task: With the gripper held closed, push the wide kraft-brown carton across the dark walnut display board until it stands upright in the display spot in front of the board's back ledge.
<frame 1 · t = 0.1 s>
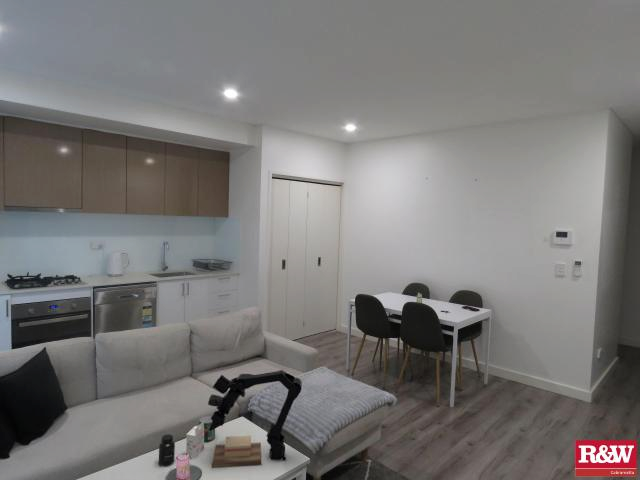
hand: (212, 425, 193), 15 cm above the table, tool tilted 30°, fingers open, 9 cm apart
kraft carton: (237, 451, 196), point 1 cm above the table, touching display board
display board: (237, 458, 192), on the table
supplement bottle: (166, 462, 187), on the table
ink cartridge box: (195, 454, 194), on the table
canned tomato: (206, 440, 207), on the table
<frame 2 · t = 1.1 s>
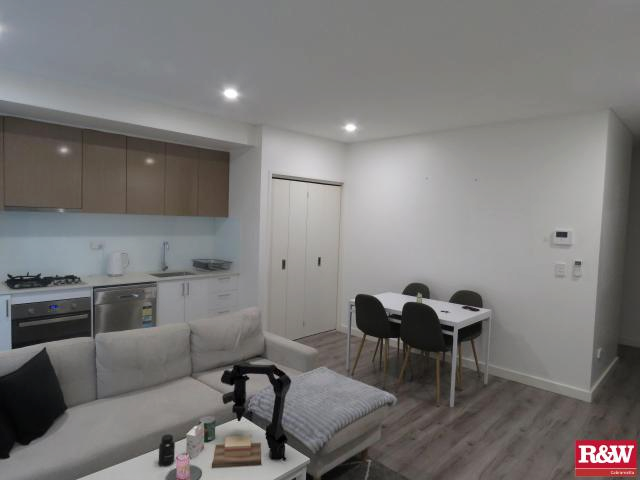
hand: (239, 418, 204), 13 cm above the table, tool pointing down, fingers open, 6 cm apart
nothing on the table moved.
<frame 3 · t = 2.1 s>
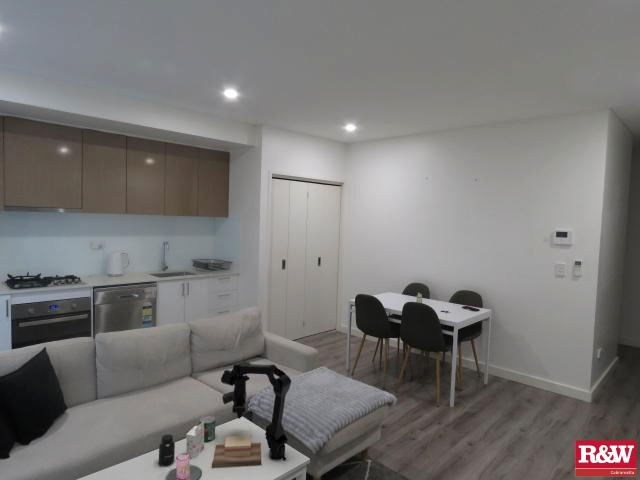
hand: (239, 418, 204), 13 cm above the table, tool pointing down, fingers closed
nothing on the table moved.
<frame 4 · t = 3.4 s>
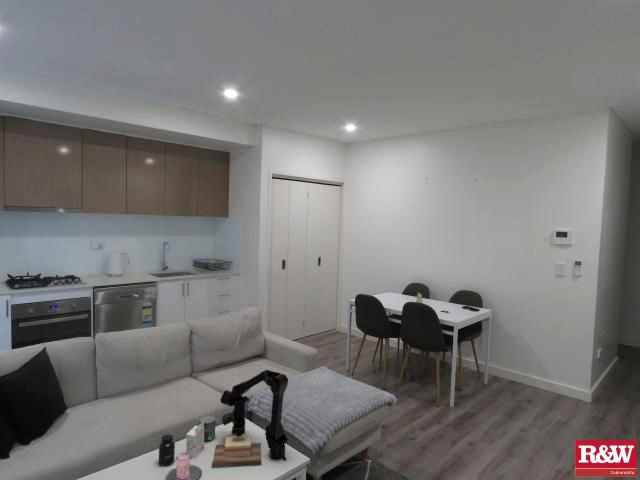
hand: (238, 438, 205), 2 cm above the table, tool pointing down, fingers closed
nothing on the table moved.
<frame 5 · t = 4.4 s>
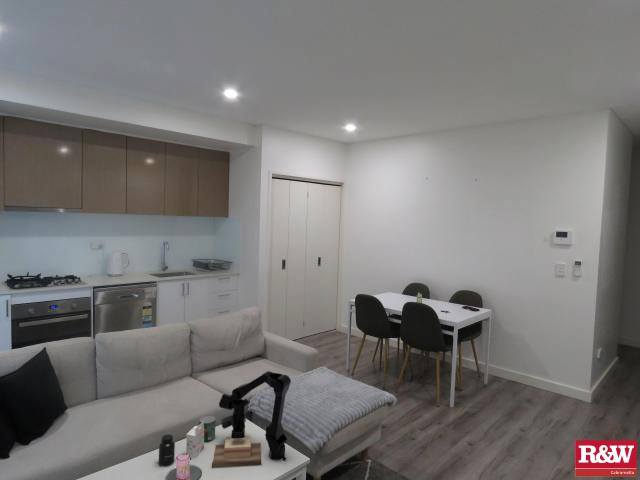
hand: (238, 442, 202), 2 cm above the table, tool pointing down, fingers closed
kraft carton: (237, 452, 195), point 1 cm above the table, touching display board, gripper
everything else where it was.
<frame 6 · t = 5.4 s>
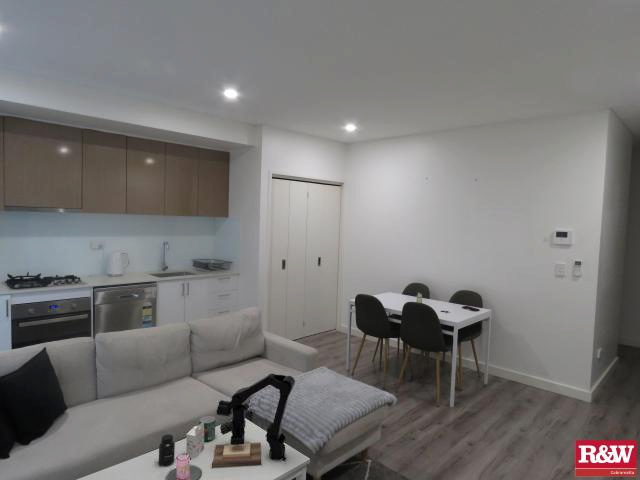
hand: (237, 448, 197), 2 cm above the table, tool pointing down, fingers closed
kraft carton: (236, 458, 190), point 1 cm above the table
everything else where it was.
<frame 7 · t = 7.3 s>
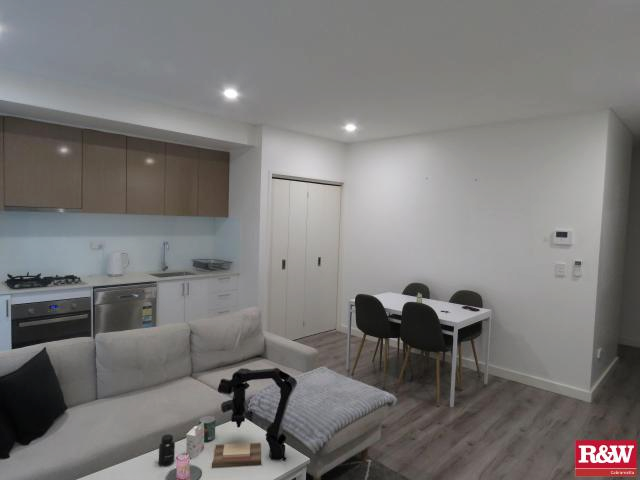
hand: (238, 427, 199), 11 cm above the table, tool pointing down, fingers closed
kraft carton: (236, 459, 190), point 1 cm above the table, touching display board
everything else where it was.
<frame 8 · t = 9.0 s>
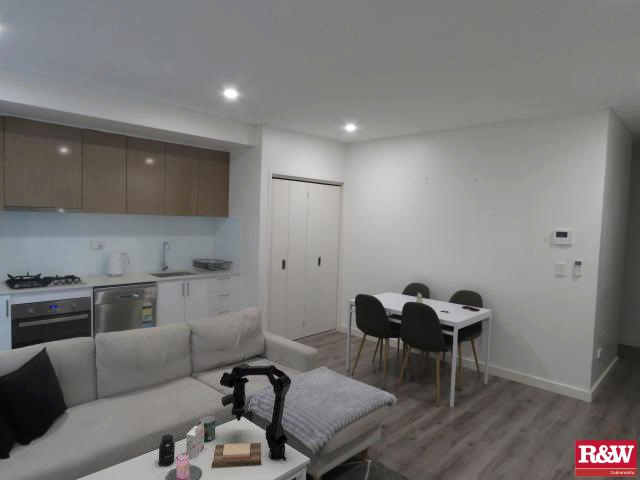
hand: (238, 420, 204), 12 cm above the table, tool pointing down, fingers closed
nothing on the table moved.
at the end: kraft carton inside the target area on the display board (0.5 cm from its centre), point 1.0 cm above the display board's base; kraft carton tilted 0°; kraft carton moved 6.8 cm from its start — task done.
